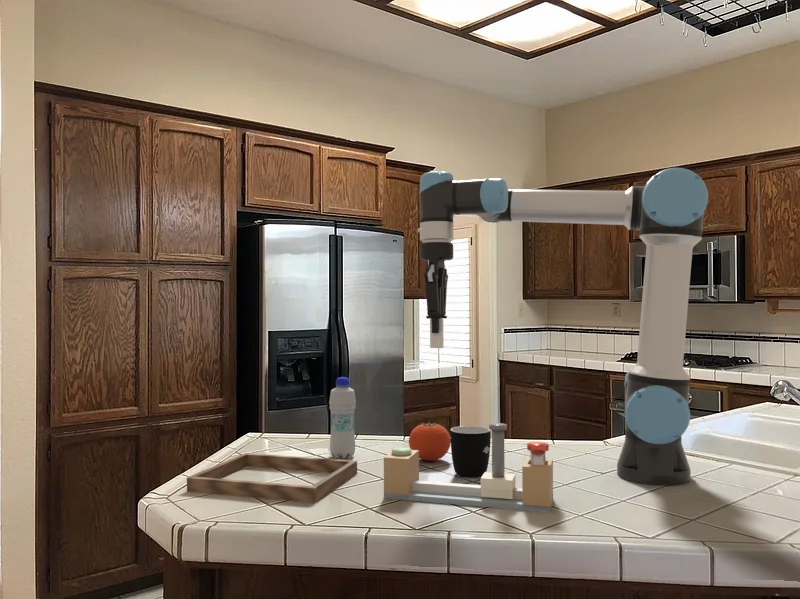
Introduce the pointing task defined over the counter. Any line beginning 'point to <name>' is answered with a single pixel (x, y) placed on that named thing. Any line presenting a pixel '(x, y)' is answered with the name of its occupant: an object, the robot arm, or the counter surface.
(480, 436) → the mug
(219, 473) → the wooden frame
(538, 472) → the rail
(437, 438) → the tomato
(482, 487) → the carriage
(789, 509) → the counter surface
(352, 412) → the bottle
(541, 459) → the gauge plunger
